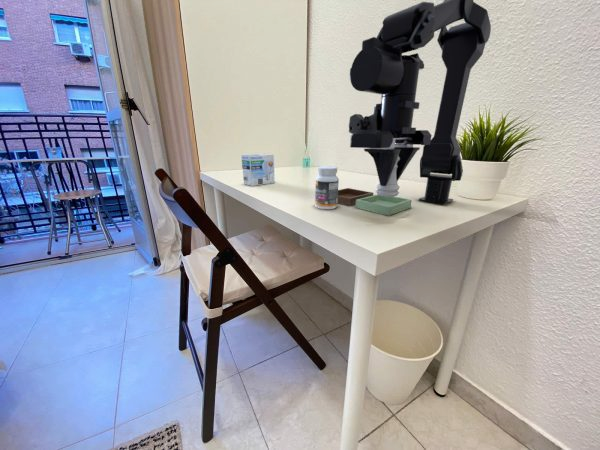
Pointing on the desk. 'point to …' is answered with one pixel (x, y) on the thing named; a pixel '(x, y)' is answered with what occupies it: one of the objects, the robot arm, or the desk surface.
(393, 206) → the sage tray
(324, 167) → the pill bottle
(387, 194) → the rook chess piece
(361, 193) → the walnut tray
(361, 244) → the desk surface
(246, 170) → the light bulb box
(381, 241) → the desk surface
